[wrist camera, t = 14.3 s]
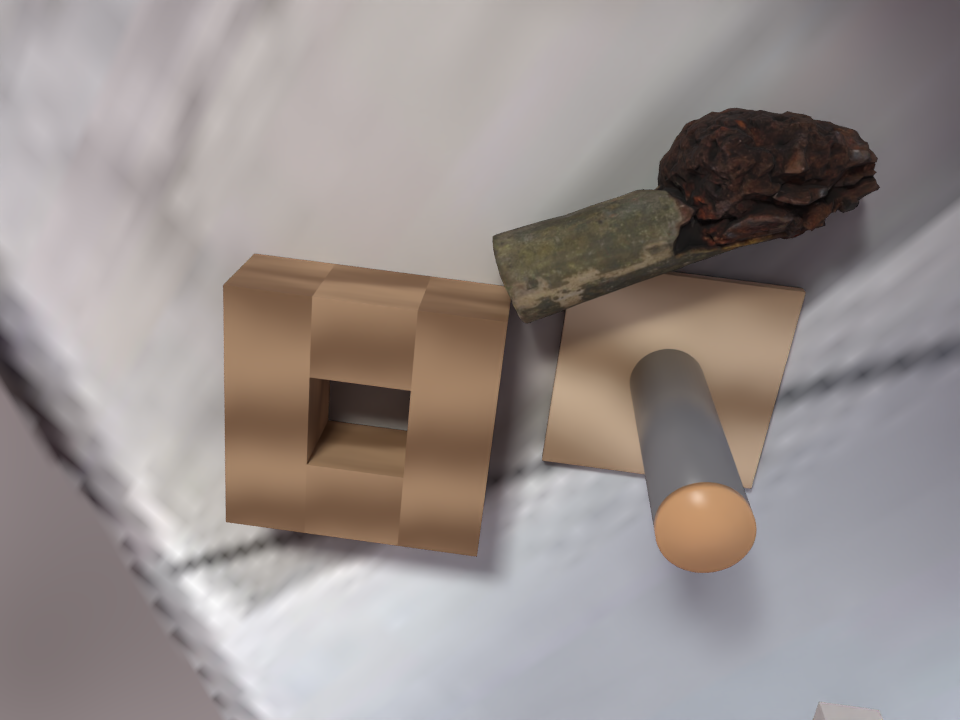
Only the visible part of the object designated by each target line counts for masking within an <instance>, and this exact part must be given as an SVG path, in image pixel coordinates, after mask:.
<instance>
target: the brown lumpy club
mask: <svg viewBox="0 0 960 720" xmlns="http://www.w3.org/2000/svg"><path fill="white" fill-rule="evenodd" d="M877 159H878V158H877V157H876V155H875V154H874V153H873V152H872V151H871V150H870V149H869V145H868V143H867V142H865V141H863V140H862V139H861V138H860V136H859V134H858V132H857V131H855V130H853V129H849V128H845V127H842V126H838V125H835V124H833V123H831V122H826V121H820V120H813V119H812V118H811V117H810V116H807V115H804V114H797V113H792V112H788V111H787V112H785V113H783V114H778V113H771V112H767V111H763V110H759V111H754V110H746V109H740V108H730V109H726V110H724V111H723V112H720V113H719V112H711V113H709V114H707V115H705V116H703V117H702V118H700V119H698V120H693V121H691V122H689V123H687V124H686V125H685V126H684V128H683V129H682V131H681V132H680V134H679V135H678V136H677V137H676V139H675V141H674V142H673V144H672V146H671V148H670V150H669V151H668V152H667V153H666V154H665V155H664V157H663V158H662V159H661V161H660V165H659V175H658V187H657V188H656V189H655V190H644V189H642V190H636V191H633V192H631V193H628V194H625V195H623V196H620V197H617V198H614V199H611V200H607V201H604V202H601V203H598V204H595V205H592V206H589V207H586V208H584V209H581V210H578V211H575V212H573V213H570V214H567V215H564V216H560V217H556V218H552V219H548V220H544V221H541V222H537V223H534V224H530V225H527V226H523V227H520V228H517V229H513V230H510V231H507V232H503V233H500V234H497V235H494V236H493V250H494V255H495V259H496V263H497V266H498V270H499V273H500V276H501V279H502V281H503V284H504V286H505V288H506V291H507V292H508V294H509V296H510V298H511V300H512V304H513V306H514V308H515V309H516V311H517V314H518V316H519V317H520V319H521V320H522V321H523V322H524V323H531V322H532V321H534V320H537V319H540V318H543V317H546V316H549V315H552V314H555V313H557V312H560V311H563V310H565V309H568V308H571V307H573V306H576V305H578V304H581V303H583V302H586V301H589V300H592V299H595V298H598V297H600V296H603V295H606V294H609V293H612V292H614V291H617V290H620V289H622V288H625V287H628V286H631V285H633V284H636V283H639V282H642V281H645V280H648V279H650V278H653V277H656V276H659V275H662V274H665V273H667V272H670V271H673V270H676V269H678V268H681V267H683V266H686V265H689V264H691V263H695V262H698V261H701V260H704V259H707V258H710V257H713V256H715V255H718V254H721V253H724V252H727V251H730V250H733V249H736V248H739V247H742V246H747V245H751V244H757V243H760V242H765V241H769V240H773V239H777V238H782V239H788V238H794V237H797V236H799V235H801V234H803V233H804V232H805V231H807V230H811V231H812V230H814V229H815V228H819V227H822V226H825V219H826V218H827V217H828V216H829V215H830V214H831V213H832V212H836V211H837V210H839V211H841V212H843V213H844V212H848V211H850V210H853V209H855V208H856V207H857V206H858V204H859V200H860V199H862V198H863V197H864V196H866V195H868V194H870V193H871V192H873V191H876V190H878V189H879V188H880V187H879V185H878V184H877V182H876V179H875V178H874V177H873V176H874V174H875V173H877V172H876V171H874V167H875V162H877Z"/></svg>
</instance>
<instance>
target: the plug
mask: <svg viewBox="0 0 960 720" xmlns="http://www.w3.org/2000/svg"><path fill="white" fill-rule="evenodd" d="M630 390H631V396H632V402H633V408H634V414H635V419H636V425H637V431H638V437H639V443H640V449H641V455H642V460H643V466H644V472H645V478H646V484H647V490H648V495H649V501H650V507H651V513H652V519H653V525H654V531H655V536H656V542H657V545H658V547H659V549H660V551H661V553H662V554H663V556H664V557H665V558H666V559H667V560H668V561H670V562H671V563H672V564H674V565H675V566H677V567H679V568H681V569H684V570H687V571H691V572H698V573H709V572H716V571H720V570H723V569H726V568H728V567H731V566H733V565H734V564H736V563H737V562H739V561H740V560H741V559H742V558H743V557H744V556H745V555H746V554H747V553H748V552H749V551H750V549H751V547H752V545H753V543H754V541H755V537H756V522H755V518H754V515H753V513H752V510H751V507H750V504H749V501H748V498H747V496H746V493H745V490H744V487H743V484H742V481H741V479H740V476H739V473H738V470H737V467H736V464H735V461H734V459H733V456H732V453H731V450H730V447H729V444H728V442H727V439H726V436H725V433H724V430H723V427H722V424H721V422H720V419H719V416H718V413H717V410H716V407H715V405H714V402H713V399H712V396H711V393H710V390H709V388H708V385H707V382H706V379H705V376H704V373H703V370H702V368H701V366H700V365H699V363H698V362H697V361H696V359H694V358H693V357H692V356H691V355H689V354H687V353H685V352H683V351H680V350H676V349H662V350H657V351H654V352H652V353H650V354H648V355H646V356H645V357H643V358H642V359H641V360H640V361H639V362H638V363H637V364H636V366H635V367H634V369H633V371H632V374H631V377H630Z"/></svg>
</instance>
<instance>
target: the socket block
mask: <svg viewBox="0 0 960 720" xmlns="http://www.w3.org/2000/svg"><path fill="white" fill-rule="evenodd" d="M510 302H511V298H510V296H509V294H508V292H507V291H506V288H505V286H499V285H492V284H484V283H476V282H469V281H461V280H453V279H446V278H438V277H430V276H422V275H415V274H407V273H399V272H392V271H384V270H376V269H369V268H361V267H353V266H346V265H338V264H330V263H322V262H315V261H307V260H299V259H292V258H284V257H276V256H269V255H261V254H254V255H253V256H252V257H251V258H250V259H249V260H248V261H247V262H246V263H245V264H244V265H243V266H242V267H241V268H240V269H239V270H238V271H237V272H236V273H235V274H234V275H233V276H232V277H231V278H230V279H229V280H228V281H227V282H226V283H225V284H224V285H223V304H224V393H225V482H226V522H230V523H237V524H244V525H251V526H259V527H266V528H273V529H280V530H288V531H295V532H302V533H309V534H317V535H324V536H331V537H338V538H346V539H353V540H360V541H367V542H375V543H382V544H389V545H396V546H404V547H411V548H418V549H425V550H433V551H440V552H447V553H454V554H462V555H469V556H476V557H477V551H478V544H479V536H480V529H481V521H482V514H483V506H484V499H485V491H486V484H487V476H488V468H489V461H490V453H491V446H492V438H493V431H494V423H495V415H496V408H497V400H498V393H499V385H500V377H501V370H502V362H503V355H504V347H505V340H506V332H507V324H508V317H509V309H510ZM330 380H333V381H341V382H348V383H356V384H363V385H371V386H378V387H386V388H393V389H401V390H408V391H411V395H410V407H409V419H408V430H407V431H404V430H397V429H389V428H382V427H374V426H367V425H359V424H352V423H345V422H337V421H330V420H328V416H329V393H330Z"/></svg>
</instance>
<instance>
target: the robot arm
mask: <svg viewBox="0 0 960 720" xmlns="http://www.w3.org/2000/svg"><path fill="white" fill-rule="evenodd" d="M813 720H883V718H882V716H881V714H880V711H879V710H876V709H868V708H861V707H854V706H847V705H840V704H832V703H825V702H819V703H818V706H817V709H816V712H815V715H814V718H813Z"/></svg>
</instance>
